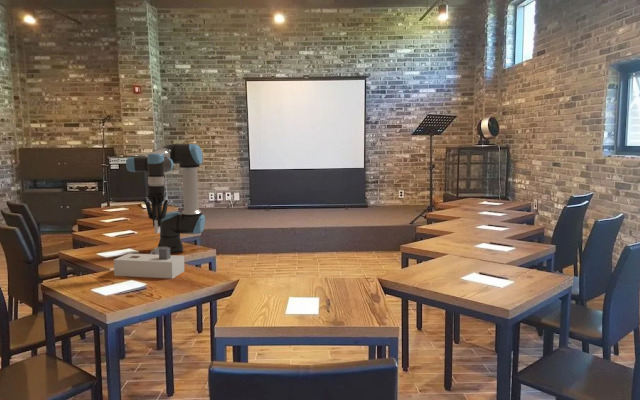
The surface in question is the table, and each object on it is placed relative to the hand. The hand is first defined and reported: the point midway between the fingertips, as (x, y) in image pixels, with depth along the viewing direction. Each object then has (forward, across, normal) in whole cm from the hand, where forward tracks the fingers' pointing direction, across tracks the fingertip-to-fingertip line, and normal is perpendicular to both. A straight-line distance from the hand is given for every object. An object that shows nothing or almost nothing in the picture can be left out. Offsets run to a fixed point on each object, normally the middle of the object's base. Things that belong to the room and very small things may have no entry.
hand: (157, 232), depth 235 cm
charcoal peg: (+15, +3, 0) cm, 15 cm away
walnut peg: (+20, -13, 0) cm, 24 cm away
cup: (+21, -9, +18) cm, 29 cm away
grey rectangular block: (+21, -5, 0) cm, 21 cm away
